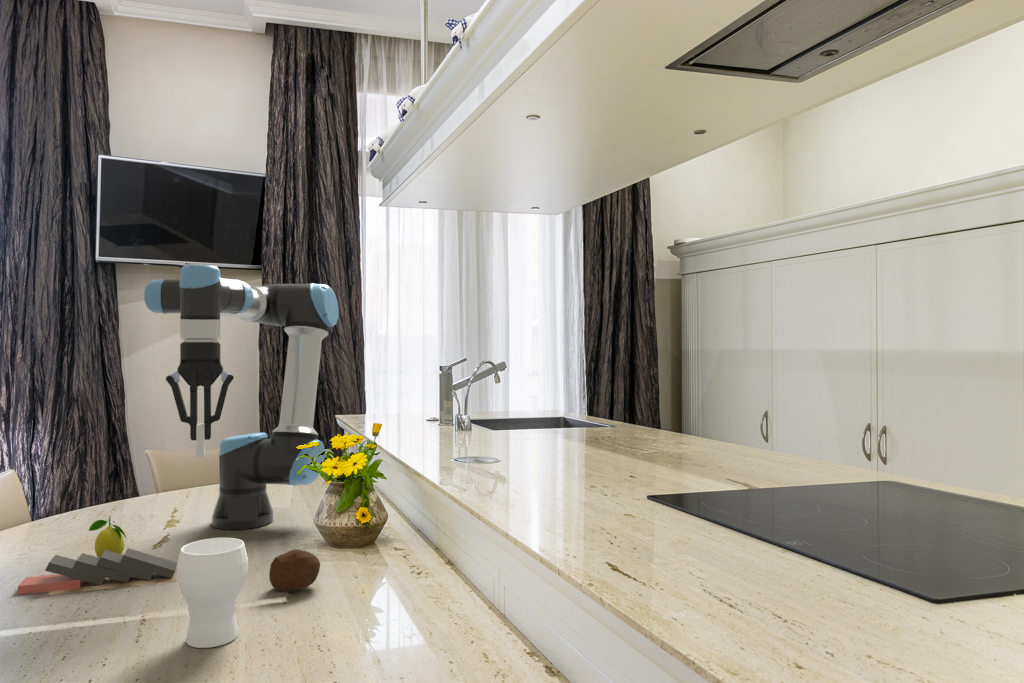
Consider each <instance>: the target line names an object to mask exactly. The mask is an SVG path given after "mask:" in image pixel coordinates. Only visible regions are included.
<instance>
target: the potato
mask: <svg viewBox="0 0 1024 683" xmlns="http://www.w3.org/2000/svg"><path fill="white" fill-rule="evenodd" d="M320 570H321V562H320V560H319V558H318V557H317V556H316V555H315V554H313V553H311V552H310V551H306V550H301V549H298V548H297V549H295V548H294V549H291V550H288V551H285V553H281V554H280V555H277V556H275V557H274V558H273V560H272V561H271V563H270V567H269V575H268V578H269V582H270V585H271V586H272V588H273V589H274V590H275V591H277V592H283V593H285V592H287V593H288V594H289V593H293V592H296V591H300V590H303V589H307V588H308V587H309V586H311V585H313V583H314V582H315V581H316V580H317V577H318V576H319V573H320Z"/></svg>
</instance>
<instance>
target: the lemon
mask: <svg viewBox="0 0 1024 683" xmlns="http://www.w3.org/2000/svg"><path fill="white" fill-rule="evenodd" d="M107 523H108V526H107V527H106V528H104V527H105V526H106V525H107ZM102 528H104V529H102ZM100 529H102V530H101V531H100V532H99V533H98V535H97V537H96V538H95V542H94V552H95V554H96V557H99V558H100V557H101V555H102V554H103V553H104V551H105V550H108V551H111V552H114V553H118V554H121V555H122V553H123V551H124V549H125V540H124V538H127V535H126V534H125V531H124V530H123V529H122V527H120V526H119V525H116V524H112V523H111V515H110V516H109V517H108V520H104V519H98V520H95V521H94V522H93V523H91V525H90V527H89V529H88V530H87V531H89V532H90V531H92V532H94V531H98V530H100Z"/></svg>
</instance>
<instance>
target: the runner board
mask: <svg viewBox="0 0 1024 683" xmlns="http://www.w3.org/2000/svg"><path fill="white" fill-rule="evenodd" d="M175 582H178V581H177V567H176V570H175V573H174V575H173V577H172V578H168V577H165V576H162V575H158V574H155V573H153V574H152V576H151V579H150V581H148V580H145V579H142V578H138V577H135V576H132V575H131V577H130V579H129V581H128V583H125V582H121V581H117V580H113V579H109V578H105V580H104V581H103V583H102V585H98V584H94V583H91V582H87V581H85V582H84V583H83V585H82V586H81V588H77V589H67V590H57V591H49V592H48V594H47V596H53V595H54V596H55V595H60V594H61V595H64V594H70V593H80V592H90V591H100V590H107V589H119V588H127V587H138V586H146V585H157V584H167V583H175Z"/></svg>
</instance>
